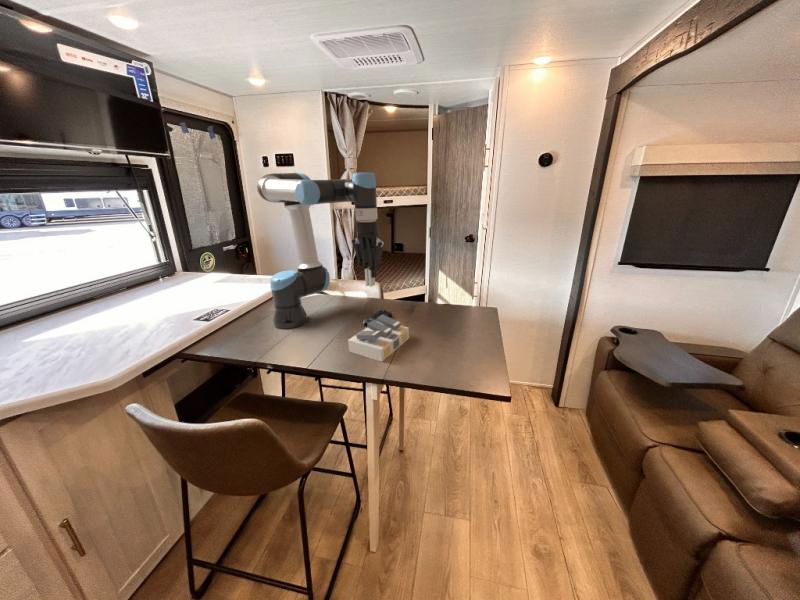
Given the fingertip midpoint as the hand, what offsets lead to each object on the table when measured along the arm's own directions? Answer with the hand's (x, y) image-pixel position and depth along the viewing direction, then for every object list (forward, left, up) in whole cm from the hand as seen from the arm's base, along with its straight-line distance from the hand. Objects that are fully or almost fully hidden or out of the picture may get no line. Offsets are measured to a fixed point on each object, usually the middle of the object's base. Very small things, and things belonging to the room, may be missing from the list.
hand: (370, 285), depth 116 cm
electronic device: (-10, +17, -25) cm, 32 cm away
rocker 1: (+3, -7, -18) cm, 19 cm away
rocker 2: (+3, 0, -18) cm, 18 cm away
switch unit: (+3, 0, -24) cm, 25 cm away
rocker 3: (+3, +6, -18) cm, 19 cm away
